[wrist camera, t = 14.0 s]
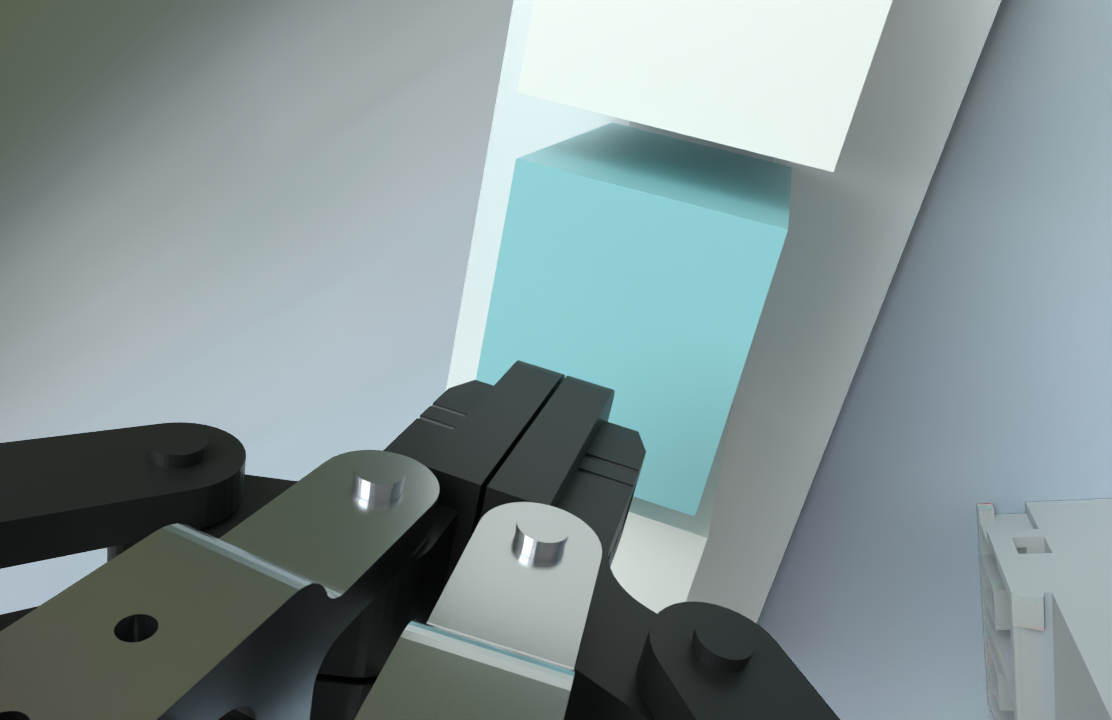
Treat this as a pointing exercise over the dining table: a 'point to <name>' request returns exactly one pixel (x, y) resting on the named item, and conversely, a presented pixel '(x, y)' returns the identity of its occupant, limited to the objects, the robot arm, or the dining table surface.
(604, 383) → the block
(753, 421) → the rail panel
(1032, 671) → the circuit breaker
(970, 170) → the dining table surface
